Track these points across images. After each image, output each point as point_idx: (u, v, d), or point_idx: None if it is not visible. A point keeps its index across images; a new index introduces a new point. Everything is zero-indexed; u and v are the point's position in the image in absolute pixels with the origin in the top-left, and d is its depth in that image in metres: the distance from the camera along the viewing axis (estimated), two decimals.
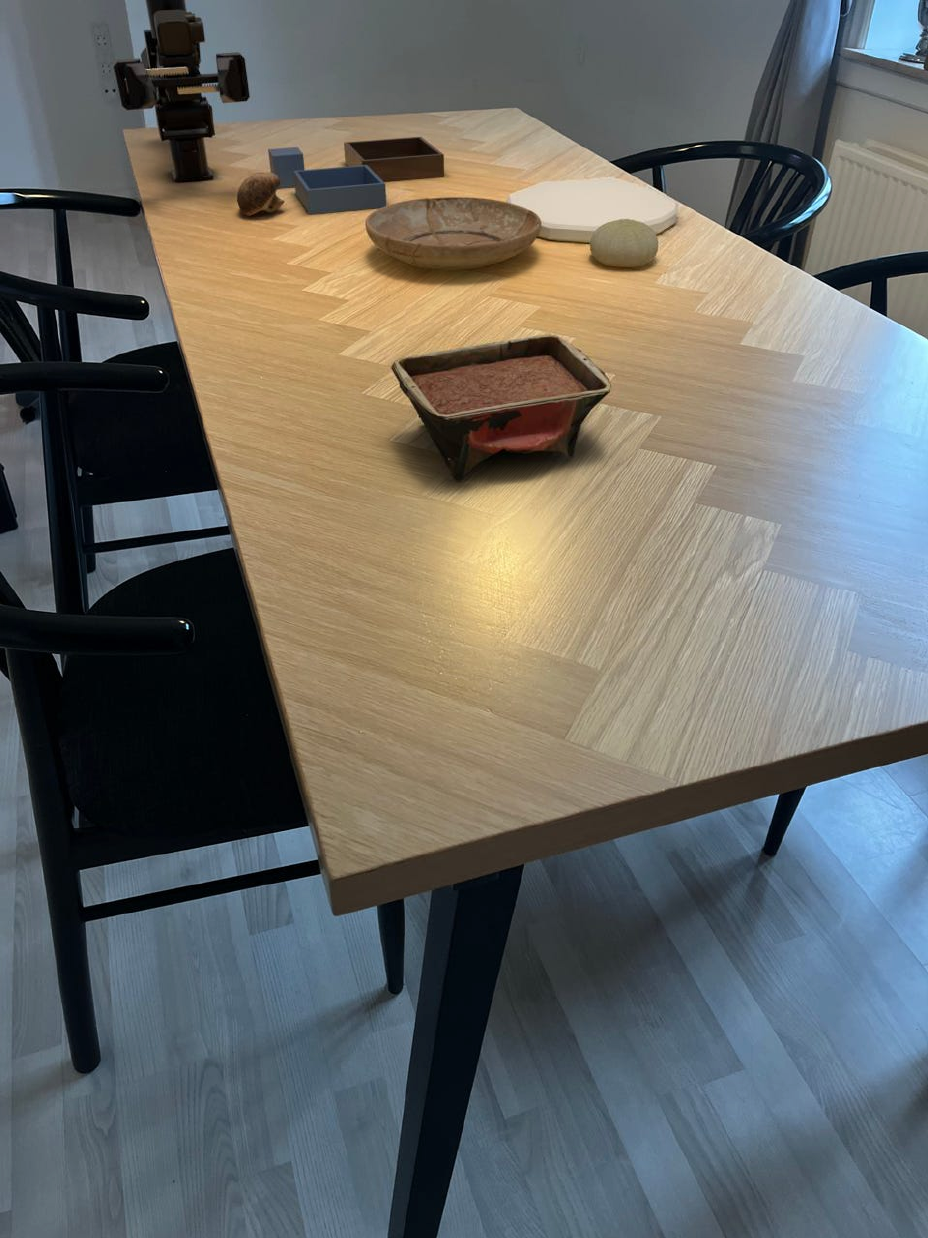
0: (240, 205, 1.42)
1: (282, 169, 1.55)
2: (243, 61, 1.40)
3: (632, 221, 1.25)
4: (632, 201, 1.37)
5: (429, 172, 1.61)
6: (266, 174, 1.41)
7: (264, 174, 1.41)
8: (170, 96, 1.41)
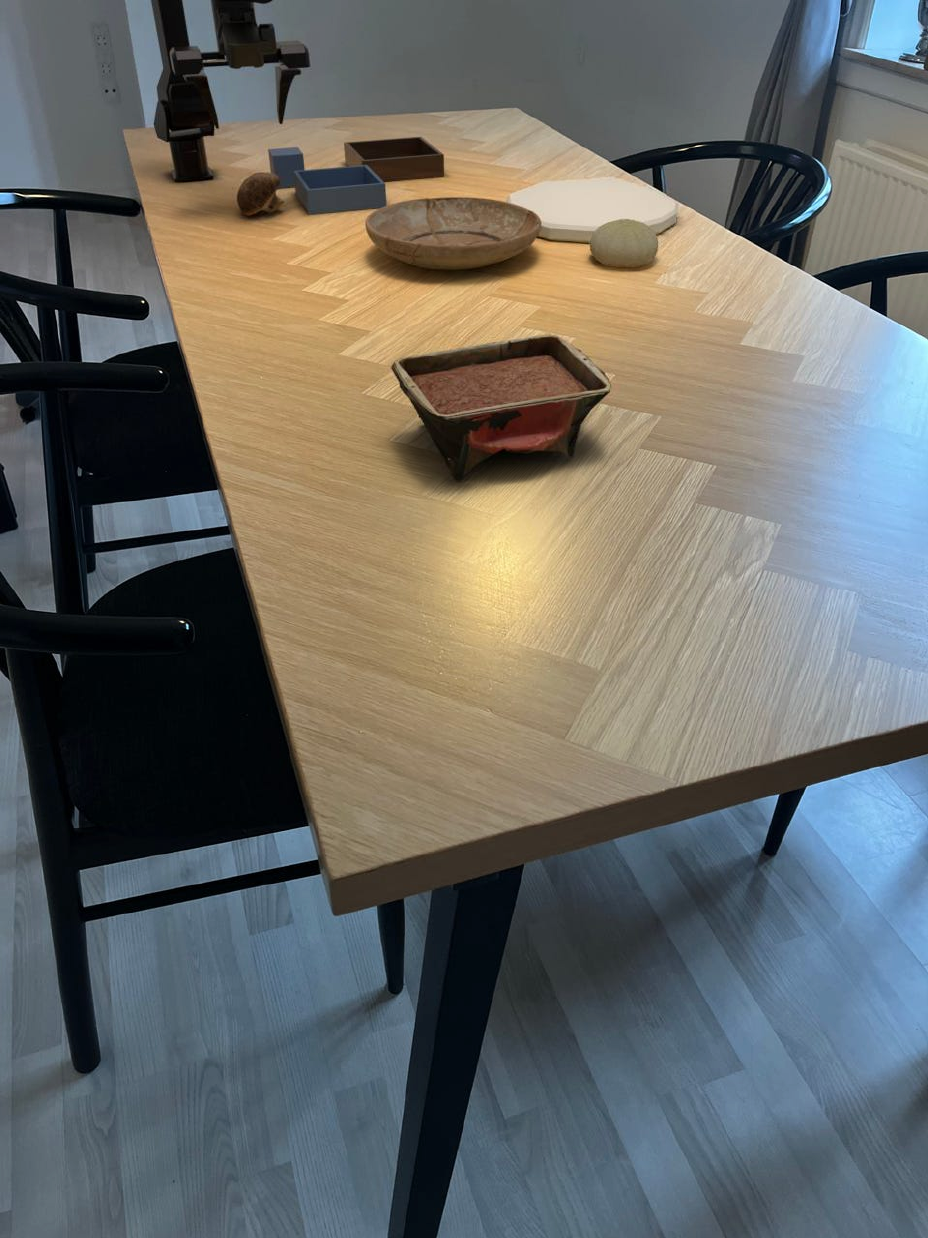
0: (240, 205, 1.42)
1: (282, 169, 1.55)
2: (307, 66, 1.34)
3: (632, 221, 1.25)
4: (632, 201, 1.37)
5: (429, 172, 1.61)
6: (266, 174, 1.41)
7: (264, 174, 1.41)
8: None
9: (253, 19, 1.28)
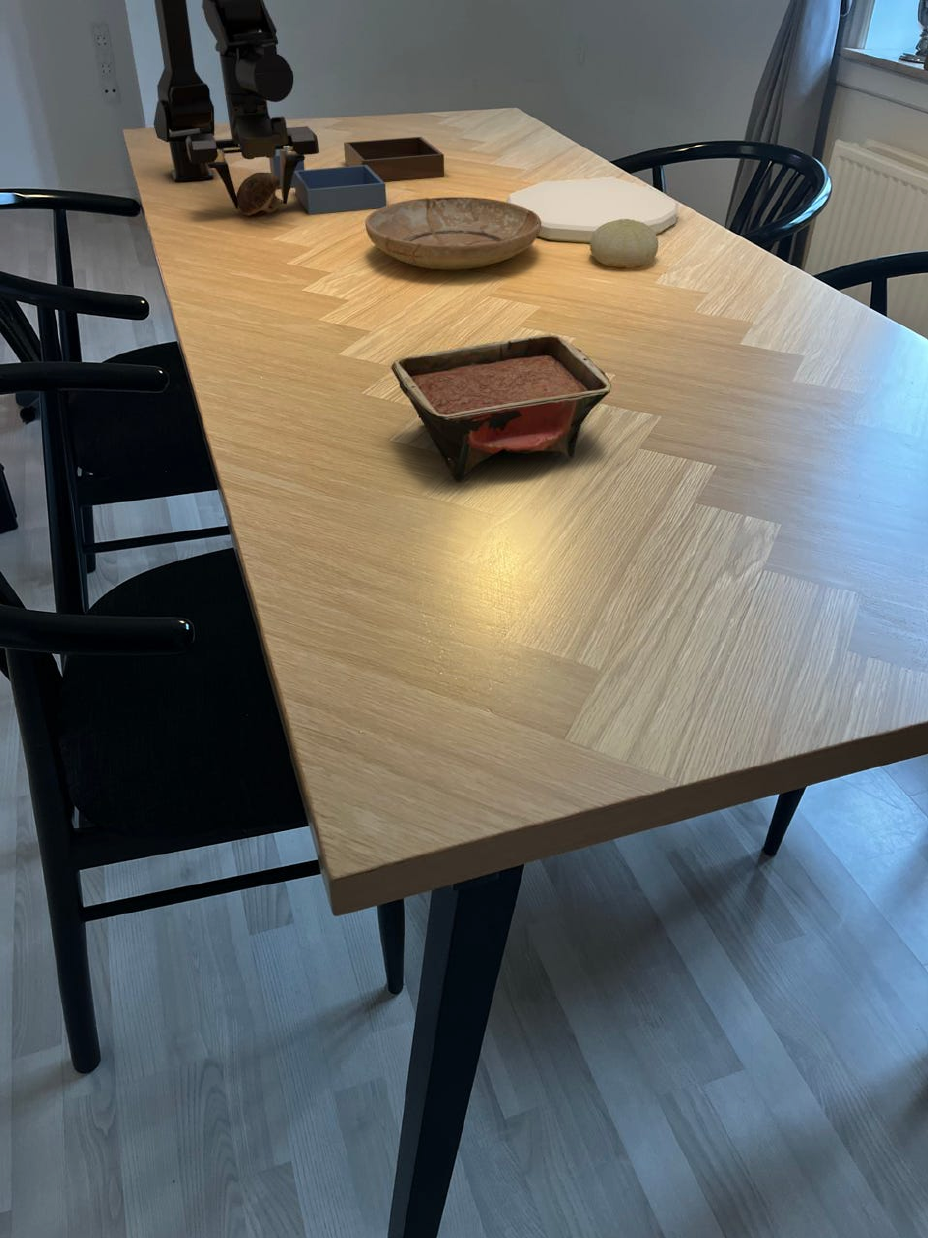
0: (240, 205, 1.42)
1: None
2: None
3: (632, 221, 1.25)
4: (632, 201, 1.37)
5: (429, 172, 1.61)
6: (266, 174, 1.41)
7: (264, 174, 1.41)
8: None
9: (265, 111, 1.35)
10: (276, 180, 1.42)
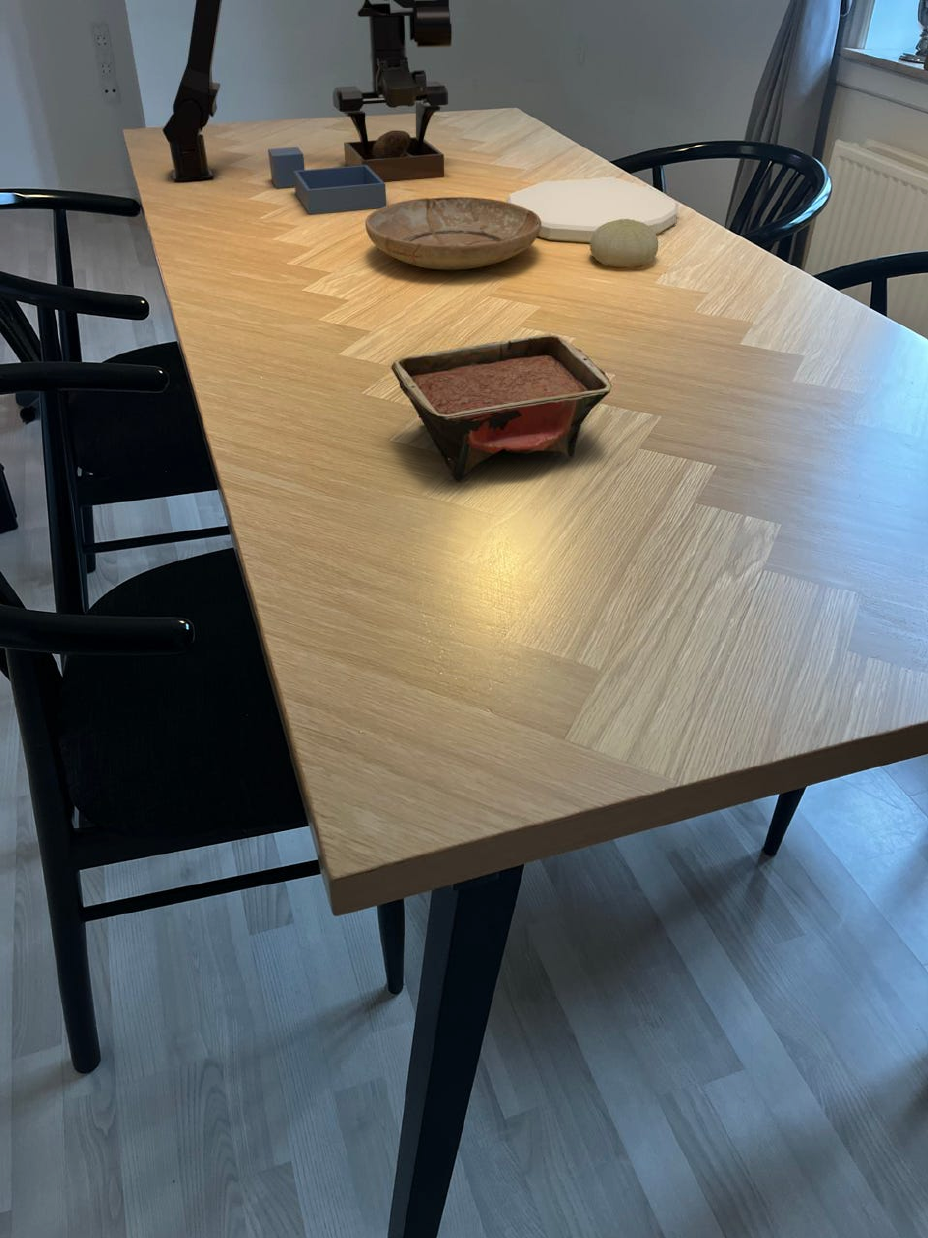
0: None
1: (282, 169, 1.55)
2: None
3: (632, 221, 1.25)
4: (632, 201, 1.37)
5: (429, 172, 1.61)
6: (400, 131, 1.61)
7: (398, 131, 1.61)
8: None
9: (406, 66, 1.54)
10: (409, 137, 1.61)
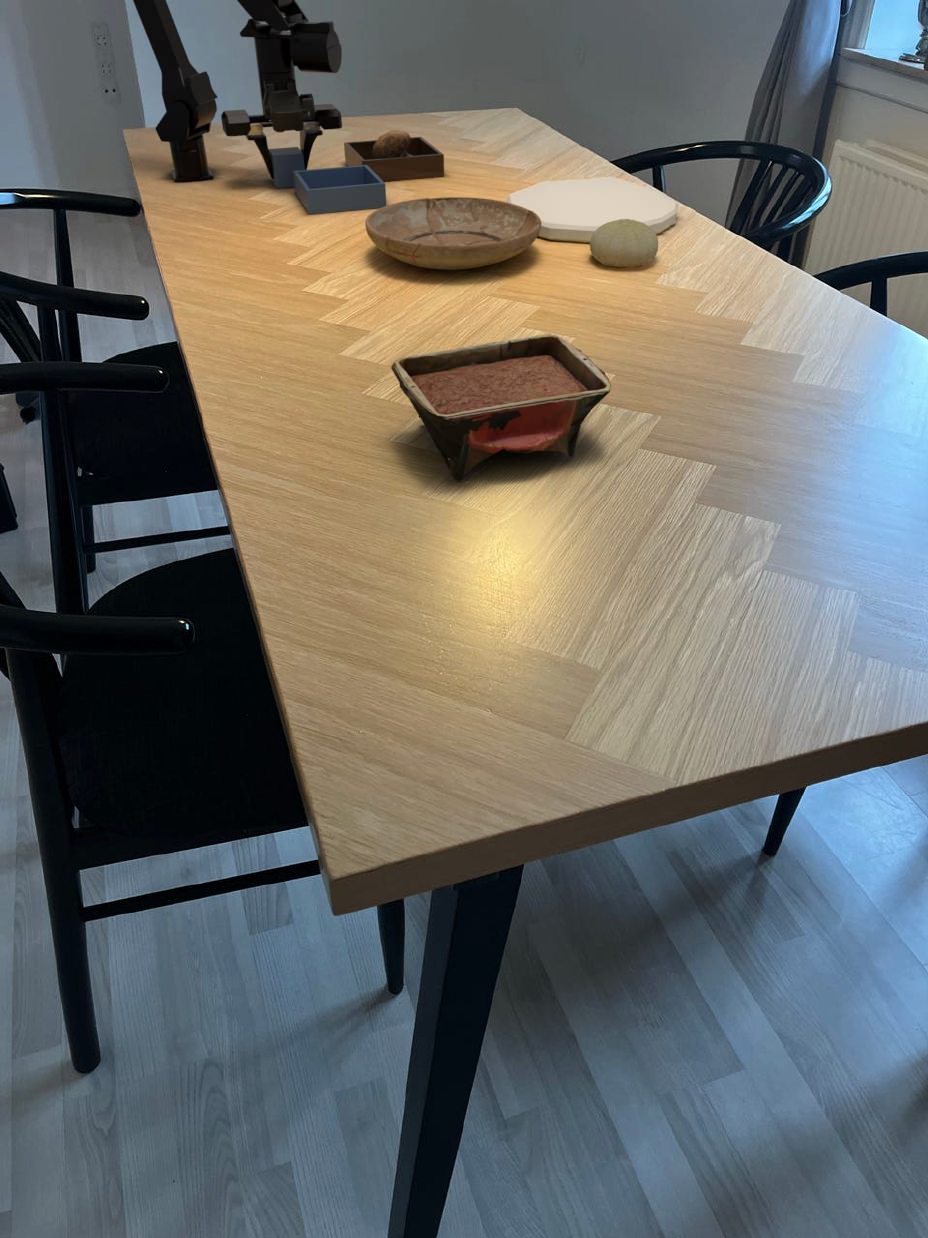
0: None
1: (282, 169, 1.55)
2: None
3: (632, 221, 1.25)
4: (632, 201, 1.37)
5: (429, 172, 1.61)
6: (400, 131, 1.61)
7: (398, 131, 1.61)
8: None
9: (294, 89, 1.48)
10: (409, 137, 1.61)
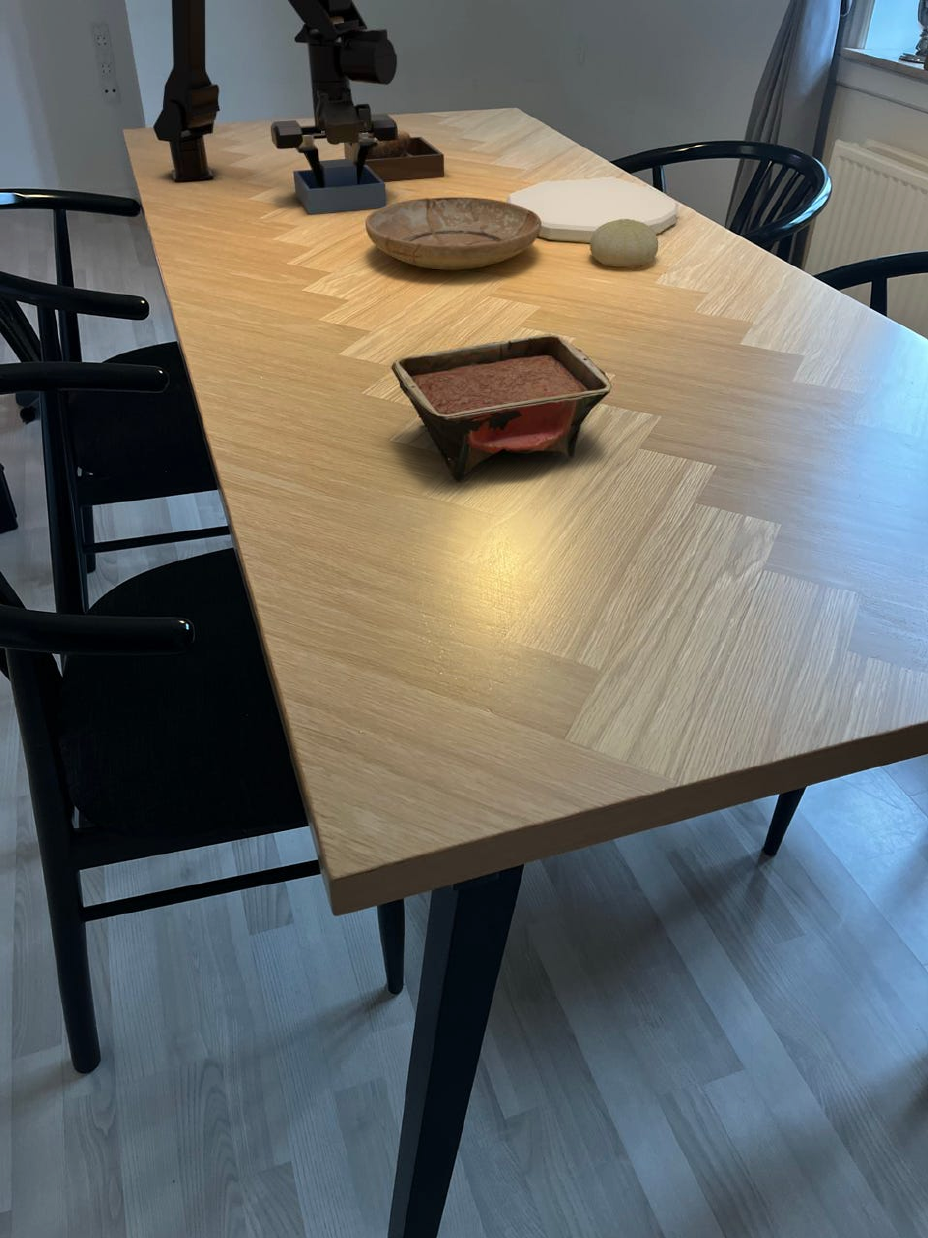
0: None
1: (334, 183, 1.47)
2: None
3: (632, 221, 1.25)
4: (632, 201, 1.37)
5: (429, 172, 1.61)
6: (400, 131, 1.61)
7: (398, 131, 1.61)
8: None
9: (350, 98, 1.40)
10: (409, 137, 1.61)
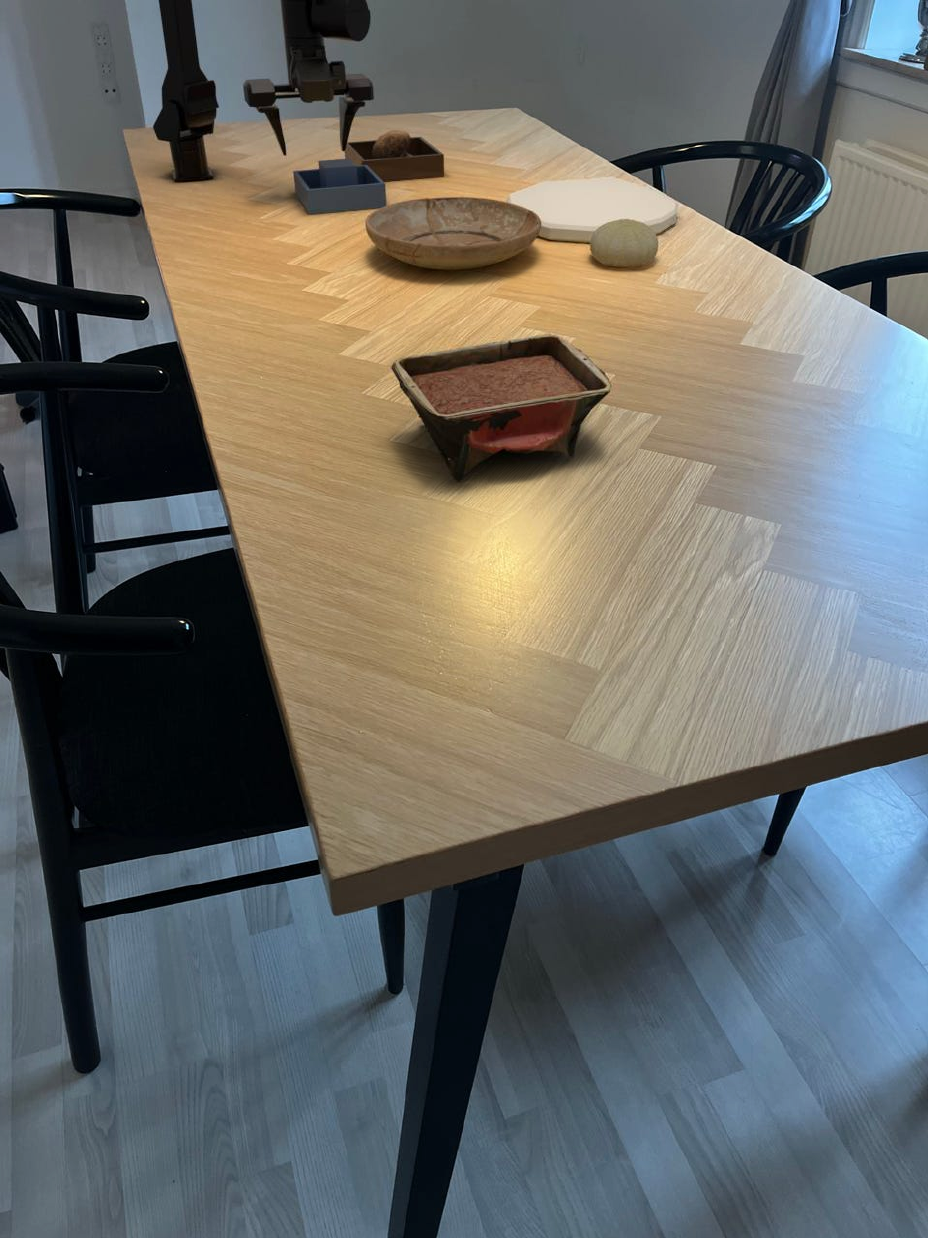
0: None
1: (334, 182, 1.47)
2: None
3: (632, 221, 1.25)
4: (632, 201, 1.37)
5: (429, 172, 1.61)
6: (400, 131, 1.61)
7: (398, 131, 1.61)
8: None
9: (324, 56, 1.36)
10: (409, 137, 1.61)
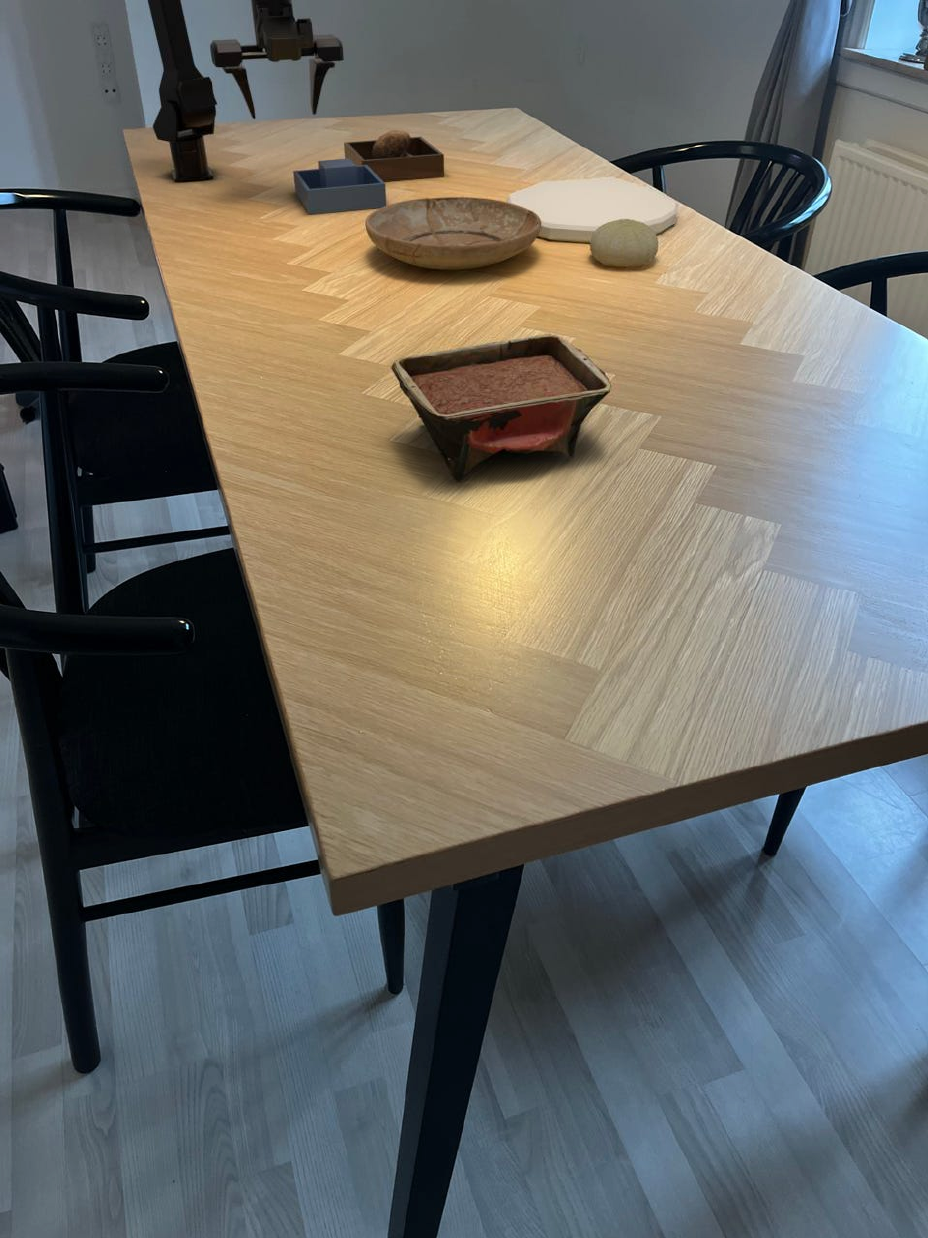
0: None
1: (334, 183, 1.47)
2: (341, 59, 1.40)
3: (632, 221, 1.25)
4: (632, 201, 1.37)
5: (429, 172, 1.61)
6: (400, 131, 1.61)
7: (398, 131, 1.61)
8: None
9: (291, 14, 1.34)
10: (409, 137, 1.61)
